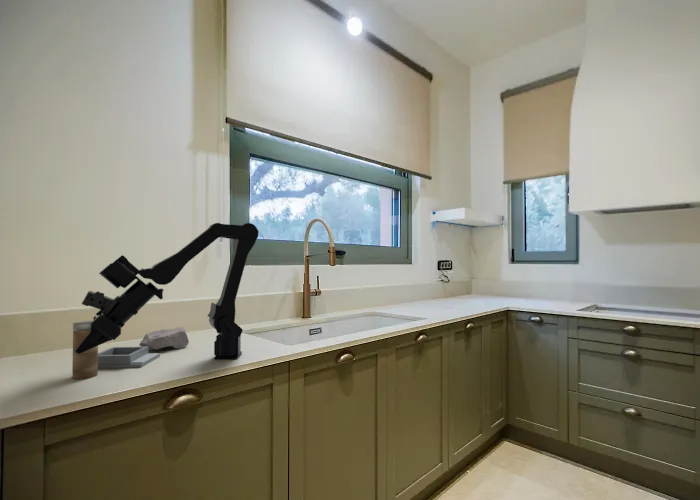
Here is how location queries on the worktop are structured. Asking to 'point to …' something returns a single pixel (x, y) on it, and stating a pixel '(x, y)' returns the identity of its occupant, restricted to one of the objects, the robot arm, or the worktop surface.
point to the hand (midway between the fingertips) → (78, 349)
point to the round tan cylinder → (83, 353)
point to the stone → (166, 339)
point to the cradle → (125, 357)
